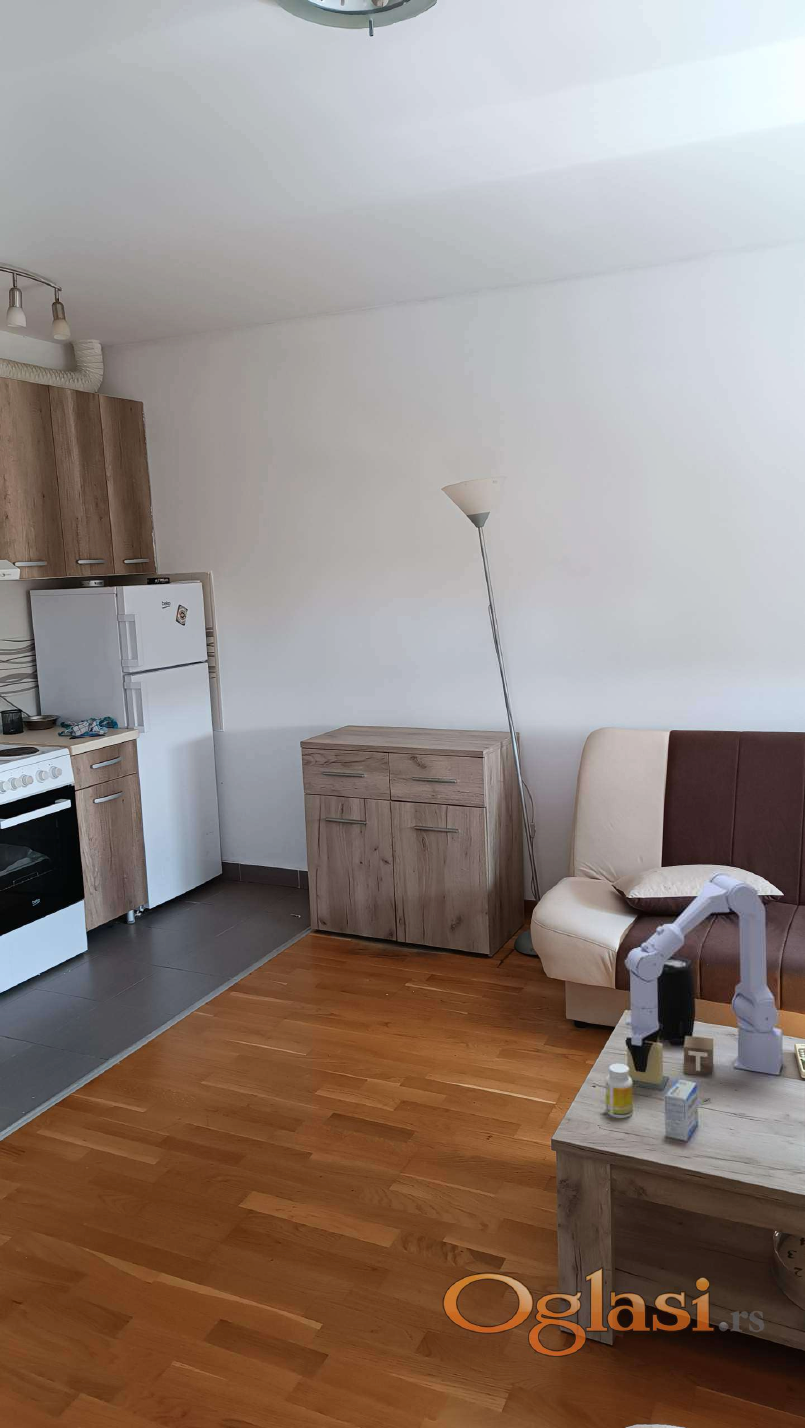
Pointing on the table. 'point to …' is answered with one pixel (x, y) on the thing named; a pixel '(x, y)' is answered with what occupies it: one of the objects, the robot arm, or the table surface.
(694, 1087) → the medicine box
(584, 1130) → the table surface
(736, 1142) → the table surface
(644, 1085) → the mat
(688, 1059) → the letter cube
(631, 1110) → the supplement bottle
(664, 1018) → the portable speaker
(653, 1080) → the cream rectangular block
